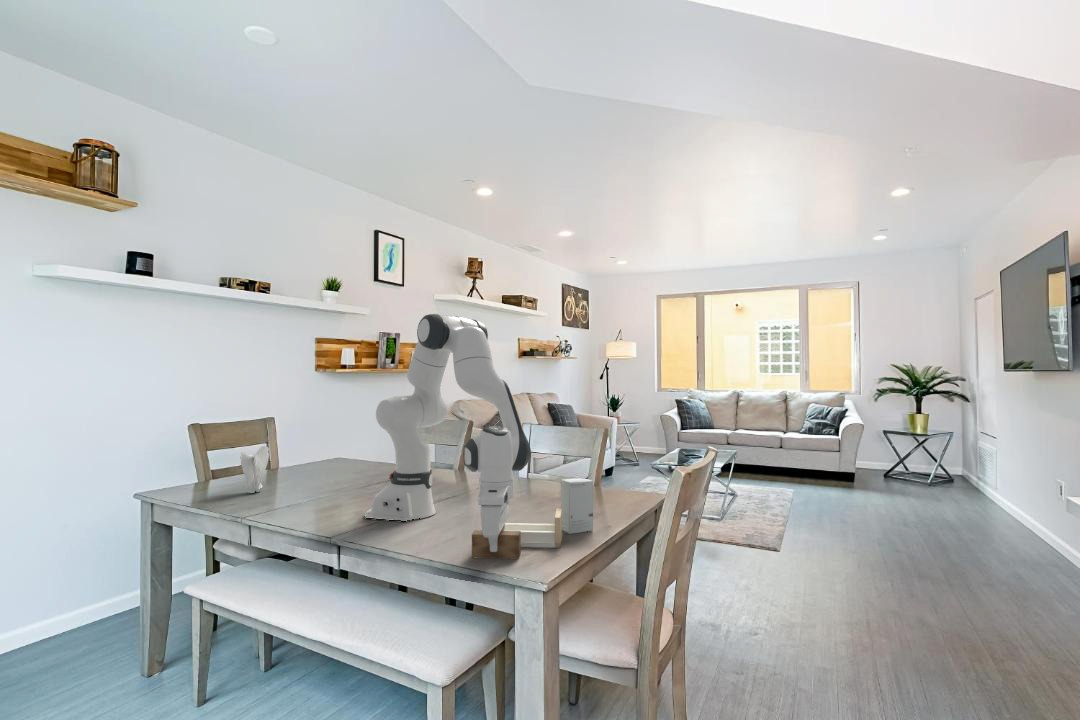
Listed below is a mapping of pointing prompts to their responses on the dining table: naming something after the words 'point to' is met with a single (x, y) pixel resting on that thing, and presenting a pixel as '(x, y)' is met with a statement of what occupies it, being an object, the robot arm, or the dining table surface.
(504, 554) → the brown wooden block
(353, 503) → the dining table surface
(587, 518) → the skincare box
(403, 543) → the dining table surface
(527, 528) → the track
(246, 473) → the shell sculpture
